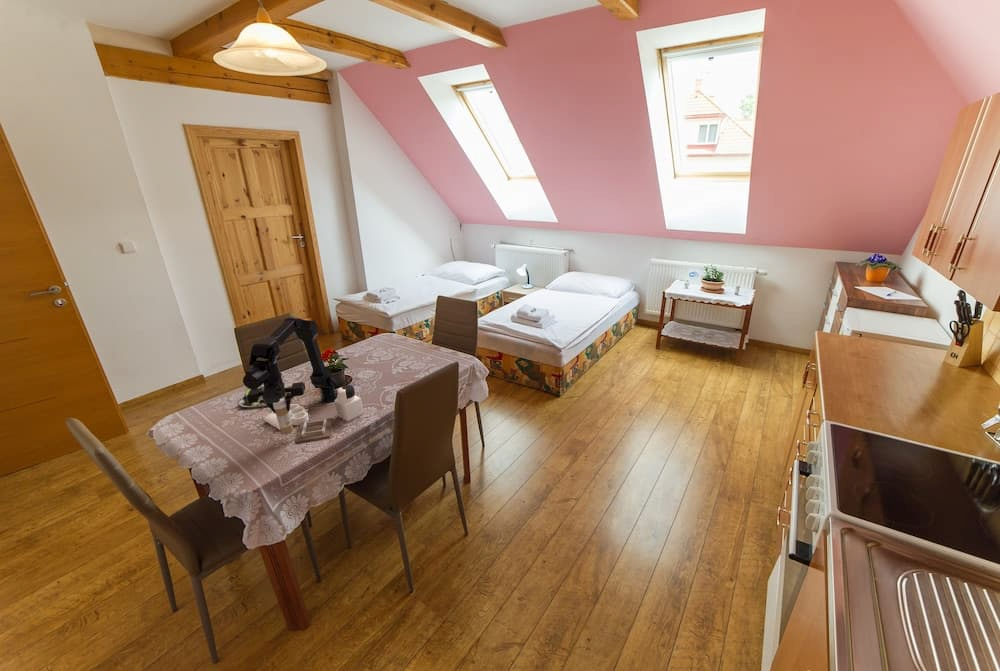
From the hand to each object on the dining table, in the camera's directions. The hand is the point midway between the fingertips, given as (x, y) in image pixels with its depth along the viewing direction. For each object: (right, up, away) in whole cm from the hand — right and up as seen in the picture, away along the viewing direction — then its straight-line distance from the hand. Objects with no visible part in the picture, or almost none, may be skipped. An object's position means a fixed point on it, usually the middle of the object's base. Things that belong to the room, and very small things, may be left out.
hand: (282, 411), depth 157 cm
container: (+19, -5, +20) cm, 28 cm away
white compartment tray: (-7, -7, +19) cm, 21 cm away
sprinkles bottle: (0, -8, +4) cm, 9 cm away
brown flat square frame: (+8, -9, +9) cm, 16 cm away
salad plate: (-27, -1, +34) cm, 44 cm away
